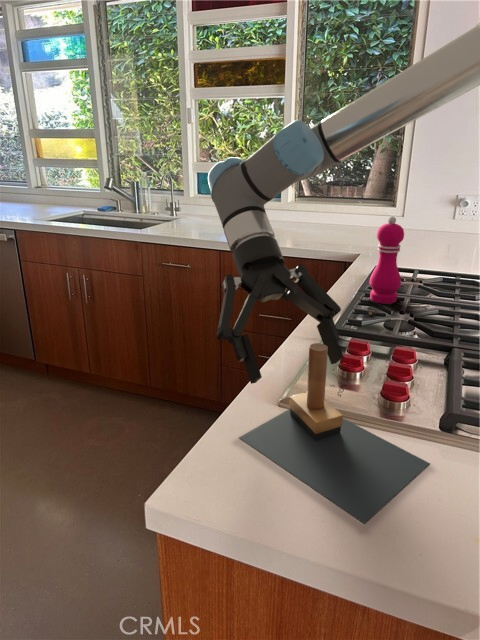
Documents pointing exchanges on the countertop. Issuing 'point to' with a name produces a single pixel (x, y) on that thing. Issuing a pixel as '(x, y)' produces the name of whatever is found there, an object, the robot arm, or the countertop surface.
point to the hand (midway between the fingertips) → (298, 370)
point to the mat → (339, 463)
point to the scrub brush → (316, 399)
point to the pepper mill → (387, 264)
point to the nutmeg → (373, 312)
